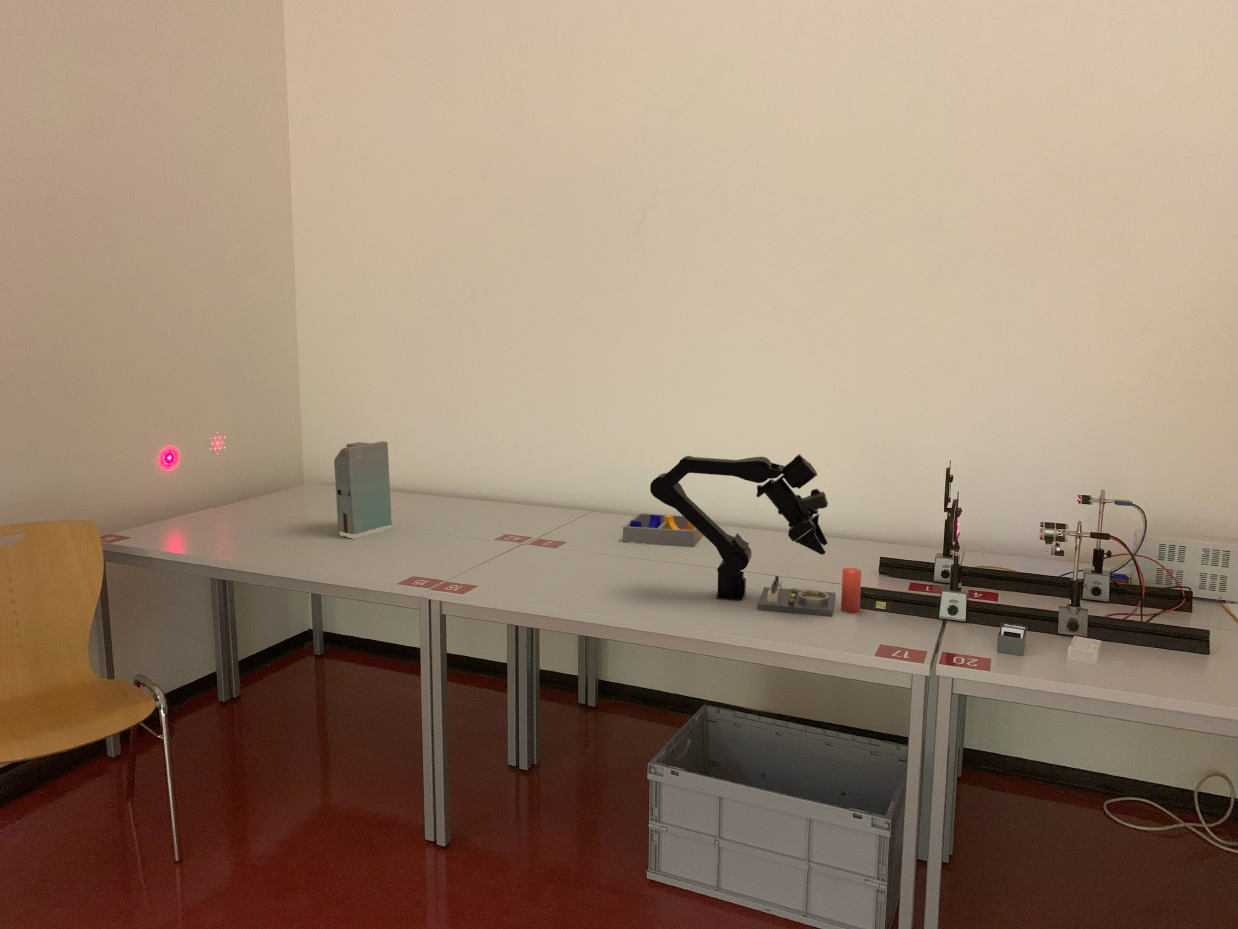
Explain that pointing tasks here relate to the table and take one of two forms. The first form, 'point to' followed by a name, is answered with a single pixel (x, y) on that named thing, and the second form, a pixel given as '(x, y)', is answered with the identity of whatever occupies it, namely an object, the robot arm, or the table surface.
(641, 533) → the parts tray
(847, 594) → the cap
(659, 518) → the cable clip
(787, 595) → the grey fixture base plate
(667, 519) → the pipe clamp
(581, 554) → the table surface
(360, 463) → the device
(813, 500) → the robot arm
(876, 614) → the table surface
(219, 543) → the table surface
